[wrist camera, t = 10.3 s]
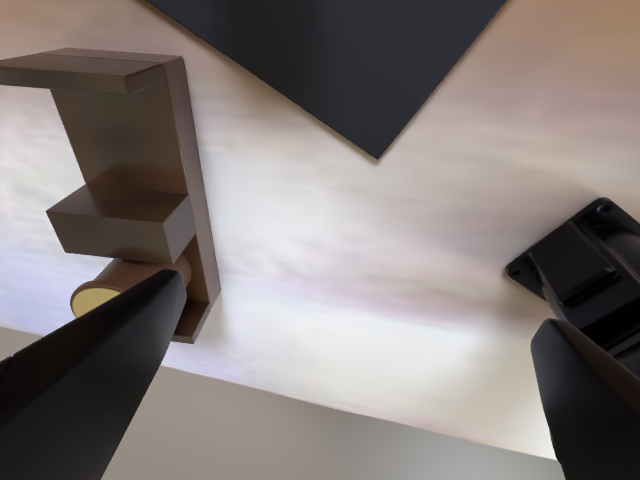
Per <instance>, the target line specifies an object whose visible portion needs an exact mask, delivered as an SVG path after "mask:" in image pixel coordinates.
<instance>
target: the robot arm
mask: <svg viewBox="0 0 640 480" xmlns="http://www.w3.org/2000/svg"><path fill="white" fill-rule="evenodd" d="M605 205H606V206H605ZM602 206H605V207H604V208H603V209H601V210H599V209H600V208H601V207H602ZM515 269H518V270H516V271H513V270H515ZM506 272H507V274H508V276H509V277H511V278H512V279H514V280H515V281H517V282H518V283H520V284H521V285H523V286H524V287H526V288H527V289H529V290H530V291H532V292H533V293H535V294H536V295H538V296H539V297H541V298H542V299H544V300H545V301H547V302H548V304H549V305H550V307H551V309H552V311H553V312H554V314H555V316H556V318H557V319H552V318H549V319H546V320H544V322H543V323H542V325H541V326H540V328H539V329H538V331H537V332H536V334H535V336H534V337H533V339H532V341H531V353H532V358H533V363H534V368H535V372H536V377H537V382H538V387H539V392H540V397H541V401H542V405H543V409H544V413H545V416H546V420H547V423H548V426H549V431H550V436H551V441H552V445H553V448H554V451H555V455H556V458H557V460H558V461H559V462H560V464H561V466H562V469H563V472H564V476H565V479H566V480H640V224H639V223H638V222H637V221H636V220H635V219H633V218H632V217H631V216H630V215H628V214H627V213H626V212H625V211H624V210H622V209H621V208H620V207H619V206H617V205H616V204H615V203H614V202H613V201H611V200H610V199H608V198H599V199H597V200H595V201H593V202H592V203H591V204H589V205H588V206H587V207H585V208H584V209H583V210H581V211H580V212H579V213H577V214H576V215H575V216H573V217H572V218H571V219H569V220H568V221H566V222H565V223H564V224H562V225H561V226H560V227H558V228H557V229H556V230H554V231H553V232H552V233H550V234H549V235H548V236H546V237H545V238H543V239H542V240H541V241H539V242H538V243H537V244H535V245H534V246H533V247H531V248H530V249H529V250H527V251H526V252H525V253H523V254H522V255H520V256H519V257H518V258H516V259H515V260H514V261H512V262H511V263H510V264H508V265H507V267H506ZM185 302H186V289H185V285H184V280H183V276H182V273H181V272H180V271H178V270H173V269H162V270H160V271H159V272H157V273H155V274H153V275H152V276H150V277H148V278H146V279H145V280H143V281H141V282H139V283H138V284H136V285H134V286H132V287H131V288H129V289H127V290H125V291H123V292H122V293H120V294H118V295H116V296H115V297H113V298H111V299H109V300H108V301H106V302H104V303H102V304H101V305H99V306H97V307H95V308H94V309H92V310H90V311H88V312H87V313H85V314H83V315H81V316H80V317H78V318H76V319H74V320H73V321H71V322H69V323H67V324H66V325H64V326H62V327H60V328H59V329H57V330H55V331H53V332H52V333H50V334H48V335H46V336H45V337H43V338H41V339H39V340H38V341H36V342H34V343H32V344H30V345H29V346H27V347H25V348H23V349H22V350H20V351H18V352H16V353H15V354H14V355H13V357H12V356H10V357H7V358H6V359H4V360H2V361H1V362H0V480H101V478H102V476H103V474H104V472H105V470H106V468H107V466H108V464H109V462H110V461H111V459H112V457H113V455H114V453H115V451H116V449H117V447H118V445H119V443H120V441H121V439H122V438H123V436H124V434H125V431H126V430H127V428H128V426H129V424H130V422H131V420H132V418H133V416H134V414H135V412H136V411H137V409H138V407H139V405H140V403H141V401H142V399H143V397H144V395H145V393H146V391H147V389H148V387H149V385H150V383H151V382H152V380H153V378H154V376H155V374H156V372H157V370H158V368H159V366H160V364H161V362H162V360H163V358H164V356H165V354H166V351H167V349H168V346H169V344H170V341H171V339H172V336H173V333H174V331H175V328H176V326H177V323H178V320H179V318H180V315H181V313H182V310H183V308H184V305H185Z"/></svg>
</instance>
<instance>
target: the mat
mask: <svg viewBox="0 0 640 480" xmlns="http://www.w3.org/2000/svg"><path fill="white" fill-rule="evenodd" d="M147 1H148V2H150V3H151V4H153V5H154V6H156V7H157V8H159V9H160V10H161V11H163V12H164V13H166V14H167V15H169V16H170V17H172V18H173V19H174V20H176V21H177V22H179V23H180V24H182V25H183V26H185V27H186V28H188V29H189V30H190V31H192V32H193V33H195V34H196V35H198V36H199V37H201V38H202V39H203V40H205V41H206V42H208V43H209V44H211V45H212V46H214V47H215V48H216V49H218V50H219V51H221V52H222V53H224V54H225V55H227V56H228V57H229V58H231V59H232V60H234V61H235V62H237V63H238V64H240V65H241V66H243V67H244V68H245V69H247V70H248V71H250V72H251V73H253V74H254V75H256V76H257V77H258V78H260V79H261V80H263V81H264V82H266V83H267V84H269V85H270V86H271V87H273V88H274V89H276V90H277V91H279V92H280V93H282V94H283V95H285V96H286V97H287V98H289V99H290V100H292V101H293V102H295V103H296V104H298V105H299V106H300V107H302V108H303V109H305V110H306V111H308V112H309V113H311V114H312V115H313V116H315V117H316V118H318V119H319V120H321V121H322V122H324V123H325V124H327V125H328V126H329V127H331V128H332V129H334V130H335V131H337V132H338V133H340V134H341V135H342V136H344V137H345V138H347V139H348V140H350V141H351V142H353V143H354V144H355V145H357V146H358V147H360V148H361V149H363V150H364V151H366V152H367V153H368V154H370V155H371V156H373V157H374V158H376V159H379V158H380V156H381V155H382V154H383V153H384V151H385V150H386V149H387V148H388V146H389V145H390V144H391V143H392V142H393V140H394V139H395V138H396V137H397V135H398V134H399V133H400V132H401V130H402V129H403V128H404V127H405V125H406V124H407V123H408V122H409V121H410V119H411V118H412V117H413V116H414V114H415V113H416V112H417V111H418V109H419V108H420V107H421V106H422V104H423V103H424V102H425V101H426V100H427V98H428V97H429V96H430V95H431V93H432V92H433V91H434V90H435V88H436V87H437V86H438V85H439V83H440V82H441V81H442V80H443V78H444V77H445V76H446V75H447V74H448V72H449V71H450V70H451V69H452V67H453V66H454V65H455V64H456V62H457V61H458V60H459V59H460V57H461V56H462V55H463V54H464V53H465V51H466V50H467V49H468V48H469V46H470V45H471V44H472V43H473V41H474V40H475V39H476V38H477V36H478V35H479V34H480V33H481V32H482V30H483V29H484V28H485V27H486V25H487V24H488V23H489V22H490V20H491V19H492V18H493V17H494V15H495V14H496V13H497V12H498V11H499V9H500V8H501V7H502V6H503V4H504V3H505V2H506V1H507V0H147Z"/></svg>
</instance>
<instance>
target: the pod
mask: <svg viewBox="0 0 640 480" xmlns="http://www.w3.org/2000/svg"><path fill="white" fill-rule="evenodd" d="M162 269H173V270H178V271H180V272H181V273H182V276H183V280H184V285H185V288H186V287H187V285H188V284H189V282H190V280H191V273H192V272H191V267H190V265H189V262H188V261H187V259H186V258H185V257H184V255H183V254H182V253H181V255H180V256H179V257H178V259H177V260H176V261H175V263H174V264H173V265H171V264H162V263H153V262H144V261H136V260H127V259H118V258H114V259H113V261H112V262H111V263H110V264H109V265H108V266H107V267H106V268H105V269H104V270H103V271H102V272H101V273H100V274H99V275H98V276H97V277H96V278H95V279H94V280H93V281H89V282H86V283H84V284H82V285H80V286H79V287H78V288H77V289H76V290H75V291H74V293H73V294H72V296H71V300H70V306H71V309H72V312H73V314H74V315H75V317H76V318H78V317H80V316H81V315H83V314H85V313H87V312H88V311H90V310H92V309H94V308H95V307H97V306H99V305H101V304H102V303H104V302H106V301H108V300H109V299H111V298H113V297H115V296H116V295H118V294H120V293H122V292H123V291H125V290H127V289H129V288H131V287H132V286H134V285H136V284H138V283H139V282H141V281H143V280H145V279H146V278H148V277H150V276H152V275H153V274H155V273H157V272H159V271H160V270H162Z"/></svg>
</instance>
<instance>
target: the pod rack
mask: <svg viewBox="0 0 640 480" xmlns="http://www.w3.org/2000/svg"><path fill="white" fill-rule="evenodd" d="M0 85H7V86H20V87H32V88H44V89H50V91H51V94H52V96H53V99H54V102H55V104H56V107H57V109H58V112H59V115H60V117H61V120H62V123H63V125H64V128H65V130H66V133H67V136H68V138H69V141H70V144H71V146H72V149H73V151H74V154H75V157H76V159H77V162H78V165H79V167H80V170H81V172H82V175H83V178H84V180H85V183H86V184H85V185H83V186H82V187H80V188H79V189H78V190H76V191H75V192H73V193H72V194H70V195H69V196H67V197H66V198H64V199H63V200H61V201H60V202H58V203H57V204H55V205H54V206H52V207H51V208H49V209H48V210H47V211H46V213H47V215H48V218H49V220H50V222H51V224H52V226H53V228H54V230H55V232H56V234H57V236H58V238H59V240H60V243H61V245H62V247H63V249H64V251H65V252H66V253H74V254H83V255H92V256H100V257H109V258H118V259H127V260H136V261H144V262H153V263H162V264H171V265H173V264H174V263H175V261H176V260H177V259H178V257H179V256H180V255H181V253H182V254H183V255H184V257H185V258H186V259H187V261H188V262H189V265H190V267H191V272H192V273H191V280H190V282H189V284H188V285H187V287H186V288H185V289H186V302H185V305H184V308H183V310H182V313H181V315H180V318H179V320H178V323H177V326H176V328H175V331H174V333H173V336H172V339H171V341H174V342H181V343H189V344H194V342H195V340H196V338H197V336H198V334H199V332H200V330H201V328H202V326H203V324H204V322H205V320H206V318H207V316H208V314H209V312H210V310H211V308H212V306H213V304H214V302H215V300H216V298H217V296H218V294H219V292H220V290H221V289H220V283H219V277H218V271H217V265H216V258H215V252H214V246H213V240H212V234H211V228H210V222H209V216H208V209H207V203H206V197H205V191H204V185H203V179H202V173H201V167H200V161H199V154H198V148H197V142H196V136H195V130H194V124H193V118H192V112H191V105H190V99H189V93H188V87H187V81H186V75H185V69H184V63H183V57H181V56H171V55H157V54H143V53H130V52H116V51H102V50H89V49H75V48H64V49H58V50H53V51H47V52H42V53H38V54H32V55H26V56H21V57H15V58H10V59H4V60H0Z"/></svg>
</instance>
